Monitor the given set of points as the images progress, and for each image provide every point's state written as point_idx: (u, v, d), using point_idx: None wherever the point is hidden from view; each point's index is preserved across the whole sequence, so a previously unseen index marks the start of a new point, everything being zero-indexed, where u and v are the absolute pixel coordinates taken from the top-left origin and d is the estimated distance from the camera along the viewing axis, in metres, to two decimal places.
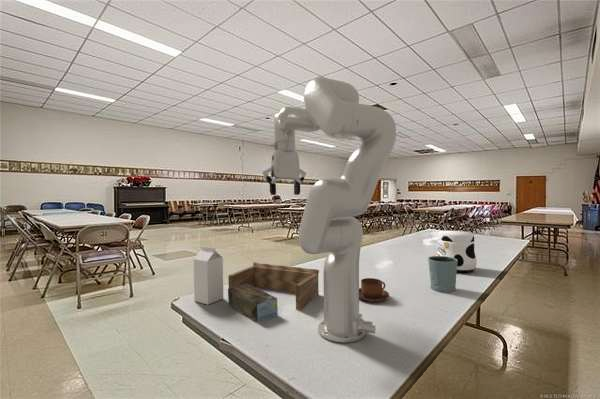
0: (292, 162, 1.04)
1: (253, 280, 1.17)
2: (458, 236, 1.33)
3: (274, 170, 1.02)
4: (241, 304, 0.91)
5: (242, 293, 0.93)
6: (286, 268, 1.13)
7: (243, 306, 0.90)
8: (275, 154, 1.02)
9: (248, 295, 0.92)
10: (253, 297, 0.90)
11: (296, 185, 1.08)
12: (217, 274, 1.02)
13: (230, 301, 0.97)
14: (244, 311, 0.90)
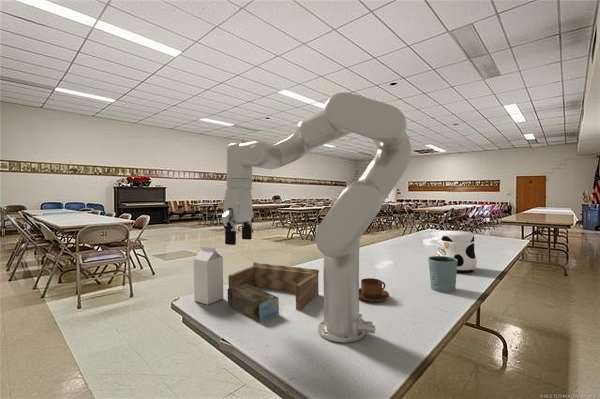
0: None
1: (253, 280, 1.17)
2: (458, 236, 1.33)
3: None
4: (242, 304, 0.91)
5: (242, 293, 0.93)
6: (286, 268, 1.13)
7: (244, 306, 0.90)
8: None
9: (249, 295, 0.92)
10: (254, 297, 0.90)
11: None
12: (217, 274, 1.02)
13: (229, 302, 0.97)
14: (245, 311, 0.90)
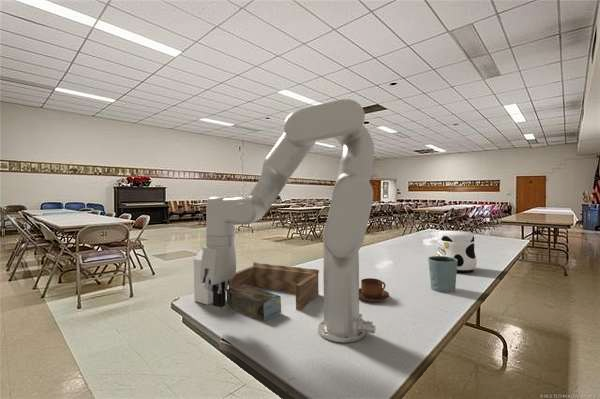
0: None
1: (253, 280, 1.17)
2: (458, 236, 1.33)
3: None
4: (244, 304, 0.91)
5: (243, 293, 0.93)
6: (286, 268, 1.13)
7: (246, 307, 0.90)
8: None
9: (250, 295, 0.92)
10: (256, 297, 0.90)
11: None
12: None
13: (229, 303, 0.96)
14: (247, 311, 0.90)
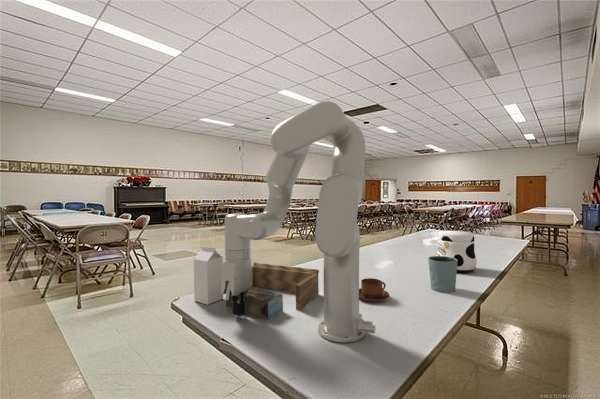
0: None
1: (253, 280, 1.17)
2: (458, 236, 1.33)
3: None
4: (246, 304, 0.91)
5: None
6: (286, 268, 1.13)
7: (248, 306, 0.90)
8: None
9: (252, 295, 0.92)
10: (259, 296, 0.91)
11: None
12: (217, 274, 1.02)
13: (228, 304, 0.96)
14: (250, 311, 0.90)
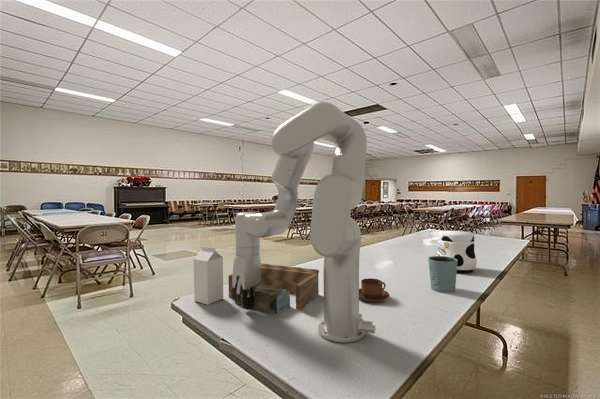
0: None
1: None
2: (458, 236, 1.33)
3: None
4: (255, 299, 0.95)
5: None
6: (286, 268, 1.13)
7: (257, 302, 0.94)
8: None
9: (260, 290, 0.96)
10: (267, 292, 0.95)
11: None
12: (217, 274, 1.02)
13: (237, 299, 0.99)
14: (258, 306, 0.94)
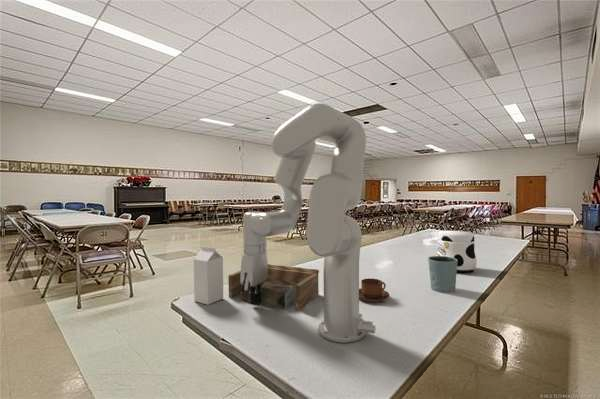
0: None
1: None
2: (458, 236, 1.33)
3: None
4: (263, 296, 0.98)
5: None
6: (286, 268, 1.13)
7: (265, 298, 0.98)
8: None
9: (268, 287, 0.99)
10: (275, 288, 0.98)
11: None
12: (217, 274, 1.02)
13: (244, 296, 1.02)
14: (266, 302, 0.98)
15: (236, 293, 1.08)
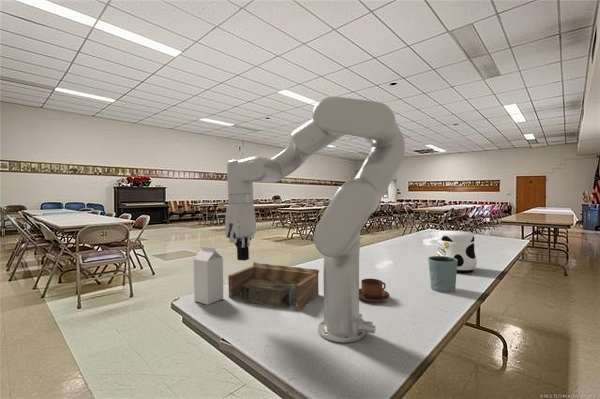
0: None
1: None
2: (458, 236, 1.33)
3: None
4: (265, 296, 0.98)
5: (262, 286, 1.00)
6: (286, 268, 1.13)
7: (268, 298, 0.98)
8: None
9: (270, 287, 1.00)
10: (277, 288, 0.99)
11: None
12: (217, 274, 1.02)
13: (244, 298, 1.01)
14: (269, 302, 0.98)
15: (236, 293, 1.08)
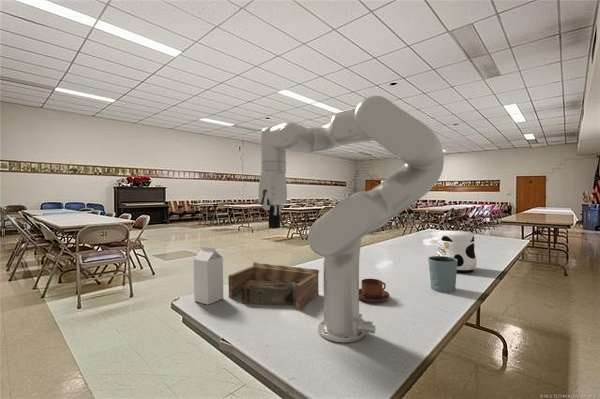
0: None
1: None
2: (458, 236, 1.33)
3: None
4: (268, 296, 0.98)
5: (263, 286, 1.00)
6: (286, 268, 1.13)
7: (271, 297, 0.98)
8: None
9: (271, 286, 1.00)
10: (279, 287, 1.00)
11: None
12: (217, 274, 1.02)
13: (245, 299, 1.00)
14: (272, 301, 0.98)
15: (236, 293, 1.08)
